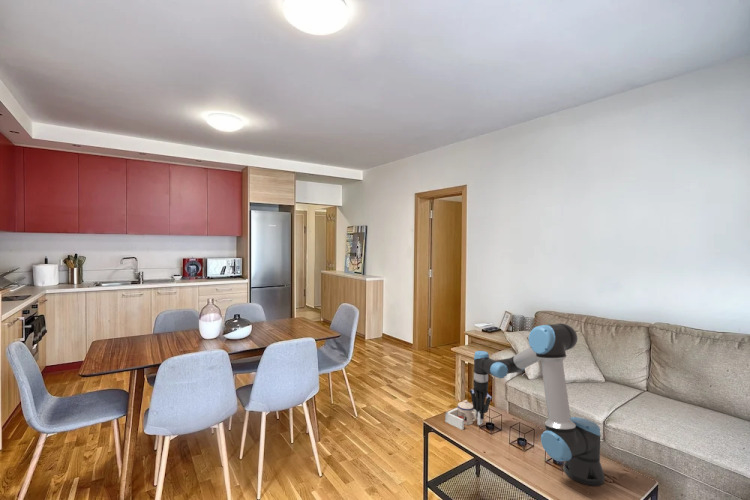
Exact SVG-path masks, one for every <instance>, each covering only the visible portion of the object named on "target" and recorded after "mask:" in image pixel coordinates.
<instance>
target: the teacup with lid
mask: <svg viewBox="0 0 750 500" xmlns="http://www.w3.org/2000/svg"><path fill="white" fill-rule="evenodd" d="M457 407H458V417H459V418H461V419H463V420H464V426H466V425H467V426H468V425H470V426H471V425H472V424H474V422H475V421H476V420H477V419H476V418H477V416H476V413H475V412H474V409H473V404H472V403H471V402H469V401H468V400H467V399H465V400H463V401H460V402H458V403H457ZM473 414H474V416H475V418H474V417H473Z"/></svg>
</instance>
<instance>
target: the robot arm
mask: <svg viewBox="0 0 750 500" xmlns="http://www.w3.org/2000/svg"><path fill="white" fill-rule="evenodd" d="M528 344H529V347H527V348H525V349H523V350H522V351H520V352H519V353H516V354H515V355H513V356H512V357H508V358H503V359H497V360H496V359H493V358H491V357H490V354H489V352H487V351H485V350H476V351H475V352H474V354H473V355H474V356H473V389H470V390H469V393H470V397H471V398H470V399H471V402H472V403H471V404H473V409H475V410H476V411H477V412H476V416H477V417H478V419H477V423H476V424H477V425H478V426H480V425H482V424H483V419H485V414H486V413H488V411H489V409H490V408H489V407H490V403H491V400H492V399H493V396H492V395H490V394H489V391H488V390H489V375H491V376H493V377H494V378H498V379H504V378H505V377H506V376H507V375H509V374H516V373H517V374H518V373H521V372H523V371H525V369H526V368H527V367H530V366H532V365H534V364H535V363H538V362H540V365H541V373H542V381H543V389H544V396H545V402H546V403H545V405H546V413H547V419H546V421H545V422H544V427H545V431H543V432H542V433H541V435H540V442H541V446H542V448H543V450H544V451H545V453H546V454H547V455H548V456H549V457H550V458H551V459H553V460H554V461H557V462H564V463H563V472H564V473H565V475H566V476H567V477H568V478H570V479H571V480H573V481H575V482H577V483H579V484H583V485H585V486H591V487H596V486H601V485H603V484H604V483H605V473H604V469H603V466H602V464H601V436H602V434H601V428H600V426H599V424H597V423H595V422H594V421H592V420H589V419H586V418H583V417H579V416H578V417H577V416H571V411H570V405H569V404H570V403H569V396H568V390H567V383H566V375H565V368H564V361H565V359H566V358H567V353H566V352H567V351H568V350H571V349H573V348H574V347H575V346H576V345H577V344H578V334H577V332H576V331H575V329H574V328H573V327H572V326H570V325H569V324H567V323H554V324H542V325H538V326H537V325H536V326H535V327H533V328H532V329H531V331H530V332H529V334H528Z"/></svg>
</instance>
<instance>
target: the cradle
mask: <svg viewBox="0 0 750 500" xmlns="http://www.w3.org/2000/svg"><path fill="white" fill-rule="evenodd" d="M474 412H475V413H476V412H477V411H476V410H475V409H474ZM474 418H475V416H474V414H473V419H474ZM476 420H478V417H477V418H476ZM444 422H445V423H447V424H449V425H451V426H453V427H456V428H457V429H459V430H462V431H463V430H465V424H464V420H463V419H461V418H459V417H458V406H457V407H455V408H453V409H451V410H448V411H446V412H444Z"/></svg>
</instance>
